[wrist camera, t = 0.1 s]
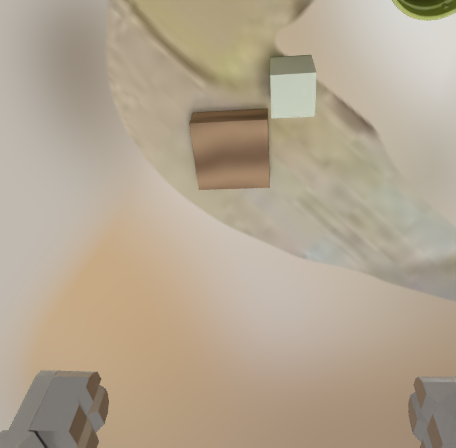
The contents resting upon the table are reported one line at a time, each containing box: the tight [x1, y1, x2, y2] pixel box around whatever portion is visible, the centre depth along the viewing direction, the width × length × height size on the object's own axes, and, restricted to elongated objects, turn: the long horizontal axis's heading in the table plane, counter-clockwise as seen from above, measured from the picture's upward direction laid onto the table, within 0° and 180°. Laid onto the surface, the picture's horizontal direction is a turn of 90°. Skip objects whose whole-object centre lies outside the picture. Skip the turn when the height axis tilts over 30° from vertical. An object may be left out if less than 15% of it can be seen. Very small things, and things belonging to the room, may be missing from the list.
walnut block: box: [189, 109, 270, 190], centre depth 58 cm, size 10×10×4 cm
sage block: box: [270, 55, 316, 119], centre depth 50 cm, size 5×5×7 cm
